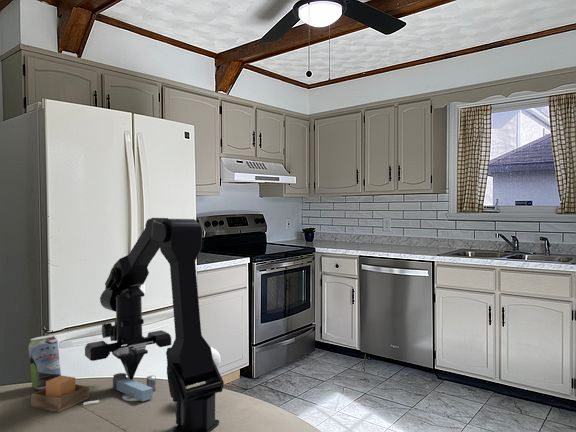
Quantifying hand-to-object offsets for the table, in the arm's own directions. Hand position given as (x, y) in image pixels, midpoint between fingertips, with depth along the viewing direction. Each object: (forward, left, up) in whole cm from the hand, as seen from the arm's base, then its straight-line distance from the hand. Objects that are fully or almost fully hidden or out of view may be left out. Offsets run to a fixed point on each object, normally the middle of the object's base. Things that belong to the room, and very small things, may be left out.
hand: (130, 380), depth 104 cm
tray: (+8, +13, -1) cm, 15 cm away
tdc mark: (+1, +11, -1) cm, 11 cm away
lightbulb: (-20, -1, -2) cm, 20 cm away
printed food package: (+19, +7, -2) cm, 20 cm away
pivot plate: (-5, +4, -1) cm, 7 cm away
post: (-6, 0, -1) cm, 6 cm away
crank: (-3, +4, -1) cm, 5 cm away
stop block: (+8, +13, -1) cm, 15 cm away
